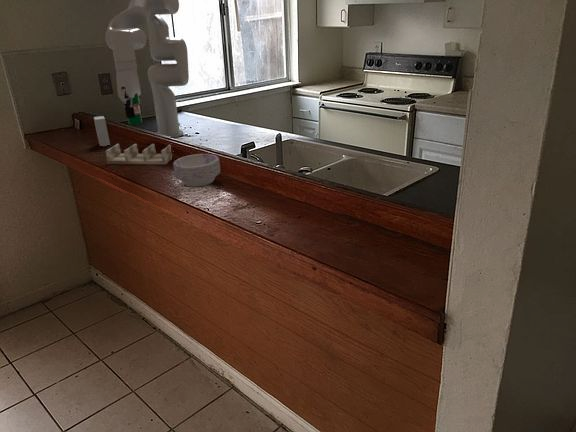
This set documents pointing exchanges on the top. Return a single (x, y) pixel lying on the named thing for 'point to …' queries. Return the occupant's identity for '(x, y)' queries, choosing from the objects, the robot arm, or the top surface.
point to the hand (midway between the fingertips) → (134, 115)
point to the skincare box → (101, 131)
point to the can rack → (138, 155)
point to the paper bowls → (197, 169)
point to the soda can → (137, 111)
